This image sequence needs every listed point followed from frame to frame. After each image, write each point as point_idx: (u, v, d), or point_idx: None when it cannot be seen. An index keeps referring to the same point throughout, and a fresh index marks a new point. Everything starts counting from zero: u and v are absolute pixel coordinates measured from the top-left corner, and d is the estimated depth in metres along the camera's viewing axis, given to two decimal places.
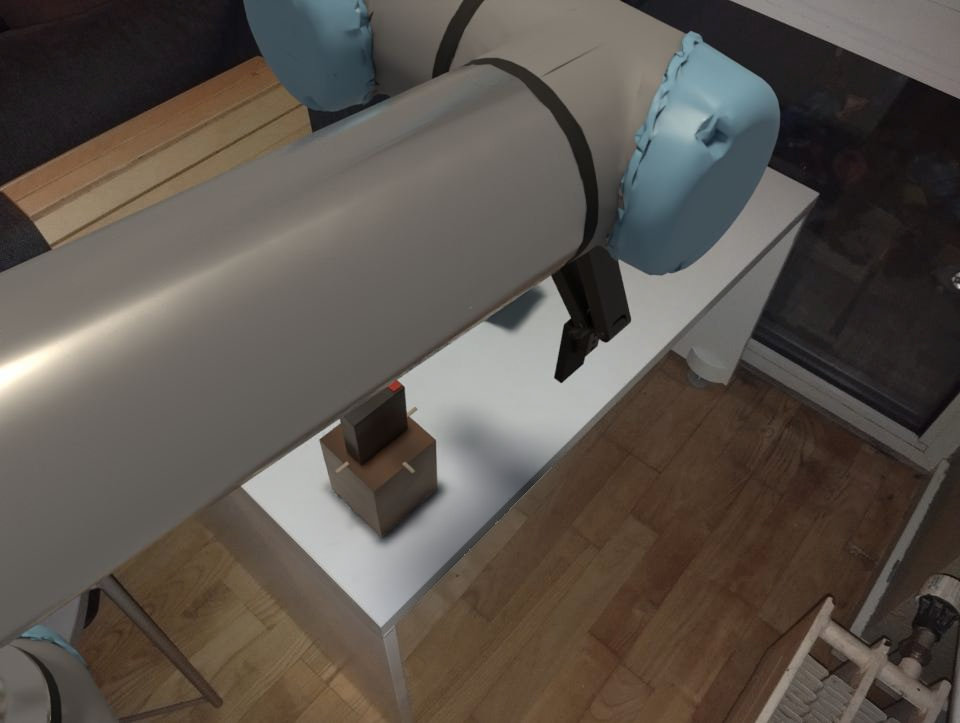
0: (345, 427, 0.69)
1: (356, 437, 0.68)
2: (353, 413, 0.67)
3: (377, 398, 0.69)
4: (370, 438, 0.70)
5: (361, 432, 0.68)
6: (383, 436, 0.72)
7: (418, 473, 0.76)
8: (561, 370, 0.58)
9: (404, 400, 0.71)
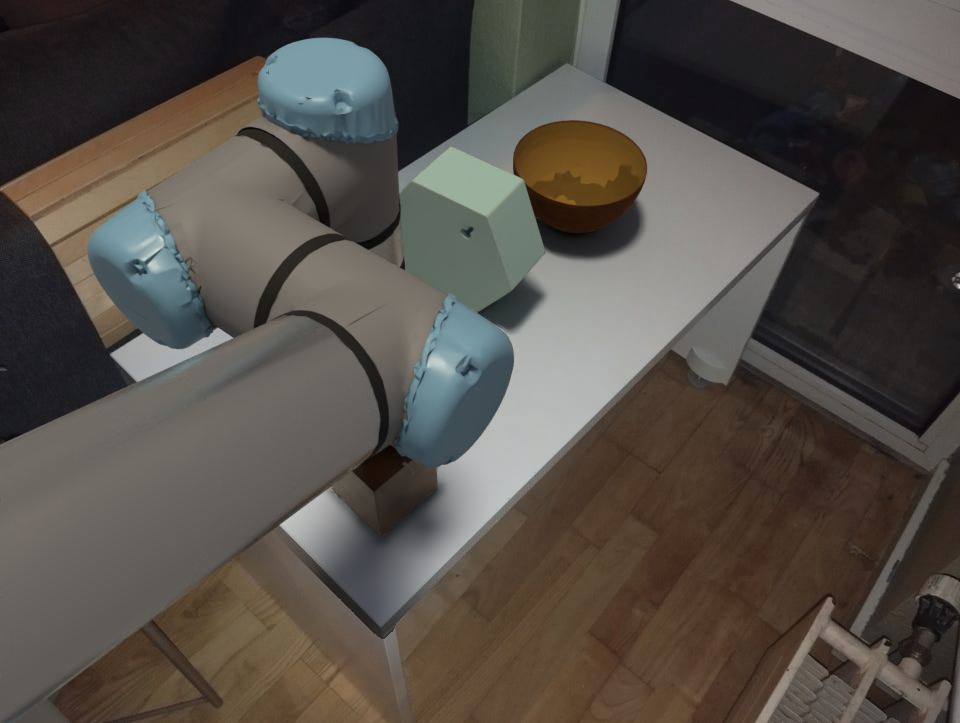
0: None
1: None
2: None
3: None
4: None
5: None
6: None
7: (418, 473, 0.76)
8: None
9: None
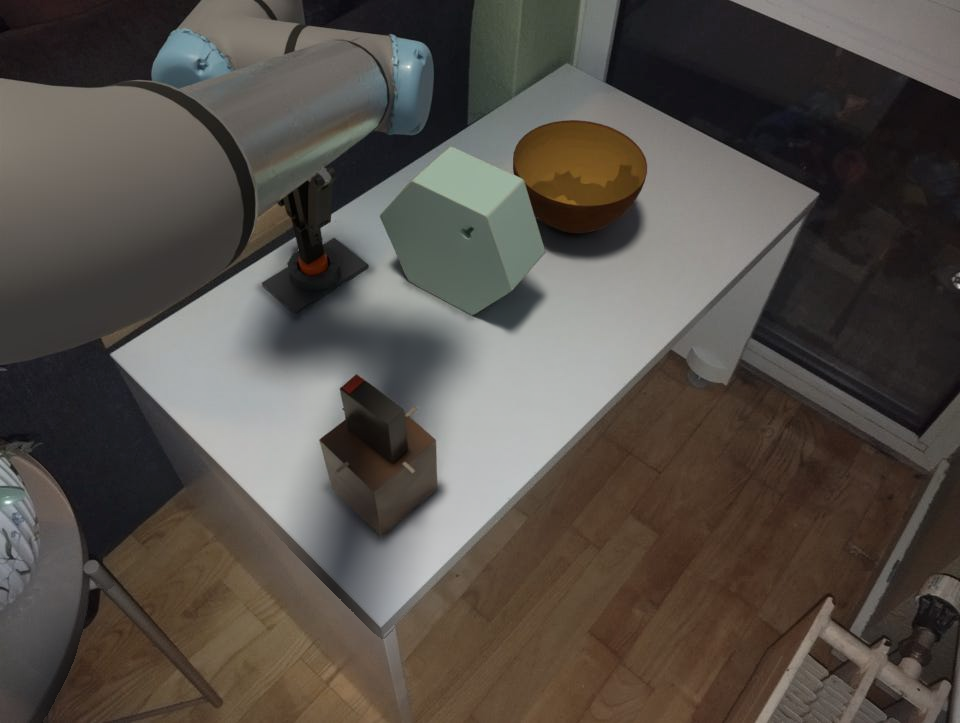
0: (394, 431, 0.69)
1: (405, 420, 0.69)
2: (390, 411, 0.68)
3: (371, 393, 0.69)
4: None
5: None
6: None
7: (418, 473, 0.76)
8: None
9: None
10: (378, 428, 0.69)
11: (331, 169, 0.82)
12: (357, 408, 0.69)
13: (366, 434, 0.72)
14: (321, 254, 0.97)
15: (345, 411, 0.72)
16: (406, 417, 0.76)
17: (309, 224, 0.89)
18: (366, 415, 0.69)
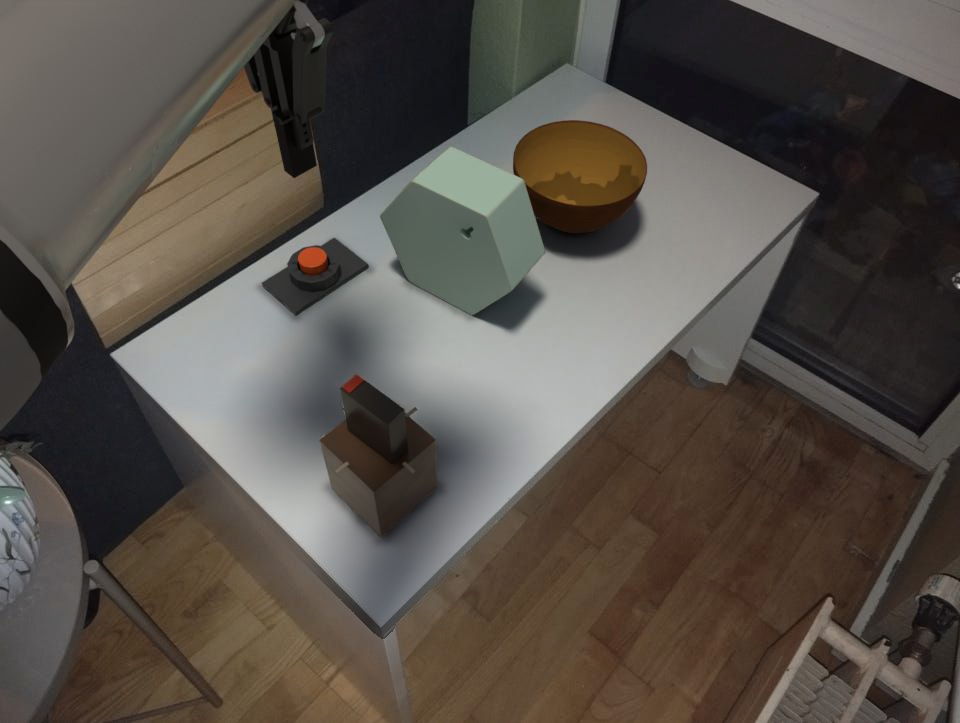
0: (394, 431, 0.69)
1: (405, 420, 0.69)
2: (390, 411, 0.68)
3: (371, 393, 0.69)
4: None
5: None
6: None
7: (418, 473, 0.76)
8: None
9: None
10: (378, 428, 0.69)
11: (325, 20, 0.58)
12: (357, 408, 0.69)
13: (366, 434, 0.72)
14: (312, 165, 0.73)
15: (345, 411, 0.72)
16: (406, 417, 0.76)
17: (295, 112, 0.65)
18: (366, 415, 0.69)
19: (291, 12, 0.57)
